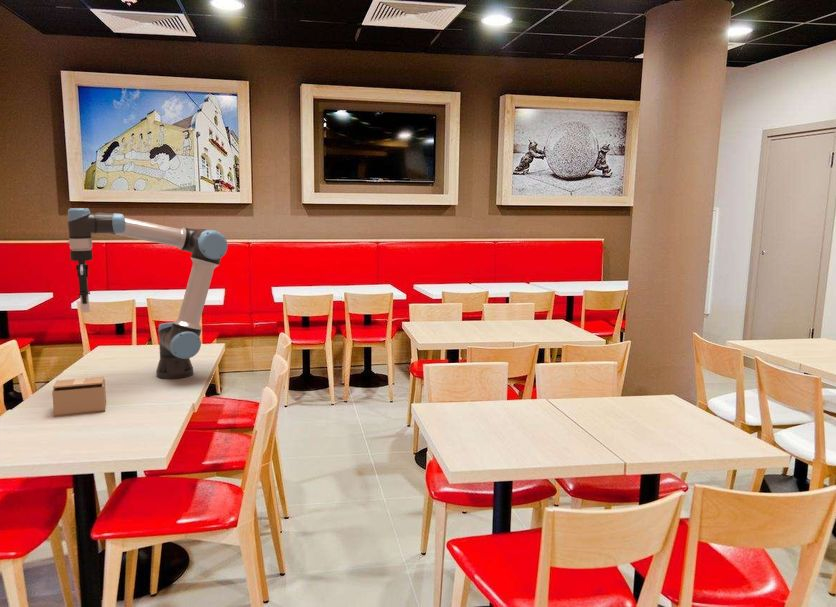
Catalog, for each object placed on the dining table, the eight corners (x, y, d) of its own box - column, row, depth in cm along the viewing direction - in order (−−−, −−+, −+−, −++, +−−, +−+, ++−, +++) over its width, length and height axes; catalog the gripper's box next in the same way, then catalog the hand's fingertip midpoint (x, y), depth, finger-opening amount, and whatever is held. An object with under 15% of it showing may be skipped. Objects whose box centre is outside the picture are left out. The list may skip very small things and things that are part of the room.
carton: (106, 402, 247) (104, 378, 246) (105, 411, 237) (103, 387, 235) (57, 406, 241) (55, 382, 240) (54, 416, 230) (52, 391, 229)
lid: (103, 377, 246) (103, 376, 246) (102, 383, 235) (102, 382, 235) (56, 381, 240) (56, 380, 240) (53, 388, 229) (52, 386, 229)
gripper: (71, 248, 254) (75, 309, 257) (68, 251, 242) (73, 315, 245) (93, 248, 257) (97, 308, 260) (91, 250, 245) (95, 314, 248)
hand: (85, 311), depth 253 cm, fingers closed
